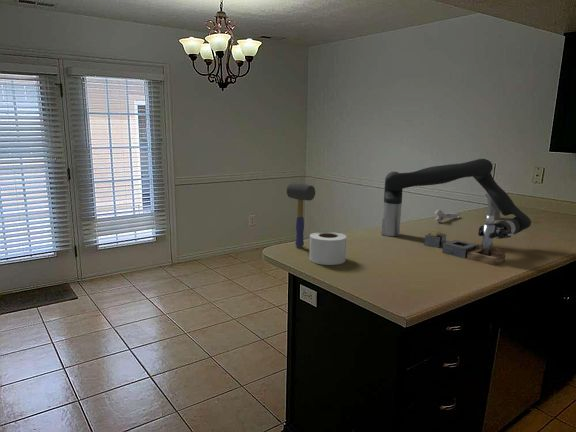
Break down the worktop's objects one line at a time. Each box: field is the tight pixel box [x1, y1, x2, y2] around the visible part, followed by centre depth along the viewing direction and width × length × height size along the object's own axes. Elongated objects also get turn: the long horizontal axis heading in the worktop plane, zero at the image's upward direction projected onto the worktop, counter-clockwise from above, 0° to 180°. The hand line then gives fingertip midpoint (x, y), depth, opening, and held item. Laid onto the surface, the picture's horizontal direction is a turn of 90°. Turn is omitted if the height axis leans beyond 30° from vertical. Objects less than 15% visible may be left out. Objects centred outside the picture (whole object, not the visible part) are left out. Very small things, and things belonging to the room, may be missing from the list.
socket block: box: [441, 239, 478, 259], centre depth 199 cm, size 11×11×4 cm
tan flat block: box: [430, 225, 447, 237], centre depth 215 cm, size 12×3×8 cm, turn 140°
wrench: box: [433, 209, 461, 224], centre depth 270 cm, size 8×2×30 cm
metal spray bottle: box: [481, 215, 495, 256], centre depth 188 cm, size 4×4×18 cm
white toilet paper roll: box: [309, 231, 348, 266], centre depth 185 cm, size 16×15×11 cm
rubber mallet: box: [286, 182, 316, 248], centre depth 202 cm, size 12×8×30 cm, turn 50°
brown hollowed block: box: [466, 243, 507, 266], centre depth 190 cm, size 12×10×5 cm
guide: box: [424, 232, 447, 249], centre depth 213 cm, size 9×7×5 cm
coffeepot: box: [484, 193, 501, 221], centre depth 278 cm, size 15×9×18 cm, turn 37°
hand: (485, 234), depth 186 cm, fingers closed on metal spray bottle, 4 cm apart
